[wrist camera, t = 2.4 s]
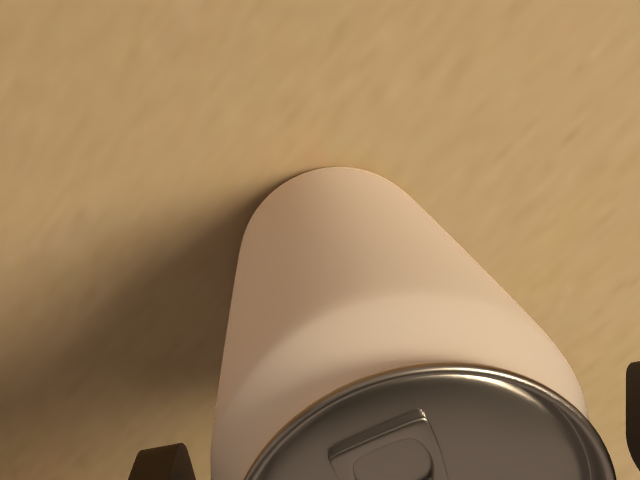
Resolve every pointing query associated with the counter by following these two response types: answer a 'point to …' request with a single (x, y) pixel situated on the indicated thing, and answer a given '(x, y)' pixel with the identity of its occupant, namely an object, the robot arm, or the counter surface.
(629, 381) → the robot arm
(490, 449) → the can
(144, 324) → the counter surface
